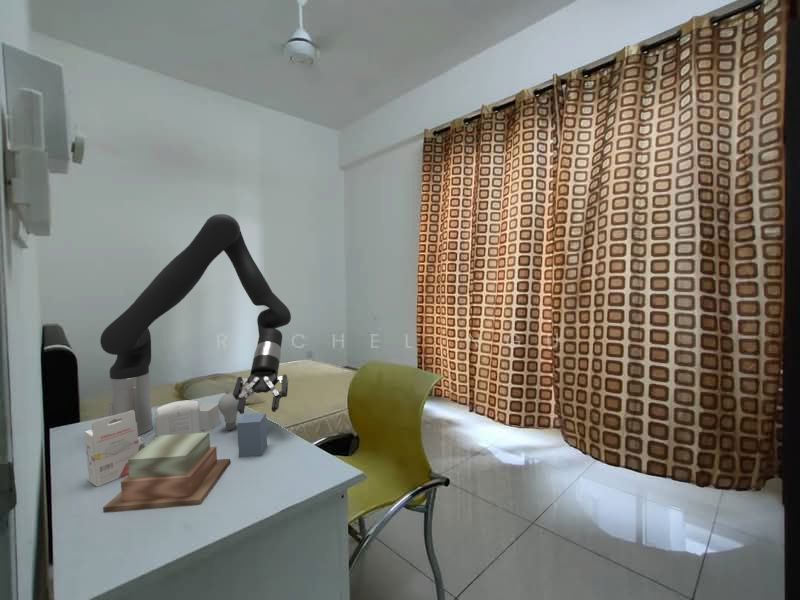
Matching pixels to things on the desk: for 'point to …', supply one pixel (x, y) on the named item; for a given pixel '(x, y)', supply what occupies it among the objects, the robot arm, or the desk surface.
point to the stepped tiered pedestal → (170, 473)
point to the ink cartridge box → (111, 447)
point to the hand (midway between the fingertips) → (257, 411)
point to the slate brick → (252, 435)
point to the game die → (141, 442)
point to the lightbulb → (229, 409)
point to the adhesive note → (209, 416)
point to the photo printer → (178, 418)
